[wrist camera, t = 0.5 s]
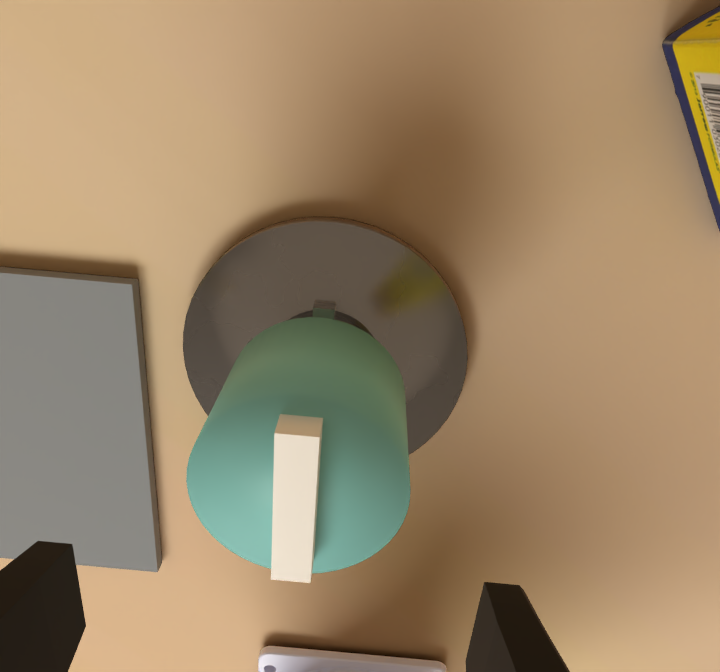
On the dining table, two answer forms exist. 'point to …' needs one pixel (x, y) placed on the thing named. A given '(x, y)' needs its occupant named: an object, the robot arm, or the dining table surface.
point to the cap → (305, 451)
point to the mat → (75, 419)
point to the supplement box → (700, 92)
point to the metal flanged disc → (332, 308)
